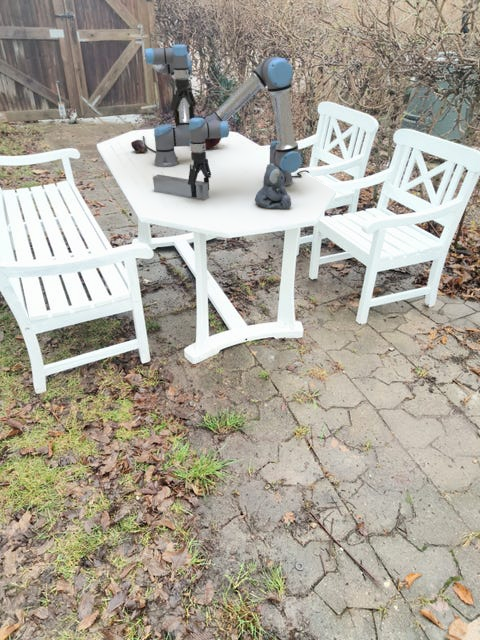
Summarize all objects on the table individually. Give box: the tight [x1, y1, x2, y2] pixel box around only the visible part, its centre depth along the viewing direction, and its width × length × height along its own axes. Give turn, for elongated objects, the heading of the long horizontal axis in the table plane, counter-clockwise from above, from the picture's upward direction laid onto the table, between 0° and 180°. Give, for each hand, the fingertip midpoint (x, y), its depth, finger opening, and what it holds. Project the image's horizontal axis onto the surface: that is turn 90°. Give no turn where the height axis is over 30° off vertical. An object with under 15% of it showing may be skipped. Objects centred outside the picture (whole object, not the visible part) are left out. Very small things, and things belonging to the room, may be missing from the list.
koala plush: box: [254, 162, 292, 210], centre depth 225 cm, size 17×18×20 cm
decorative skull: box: [201, 116, 222, 149], centre depth 324 cm, size 21×24×25 cm
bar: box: [152, 174, 209, 201], centre depth 243 cm, size 32×5×8 cm, turn 62°
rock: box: [130, 139, 149, 153], centre depth 317 cm, size 12×9×10 cm
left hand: (184, 121), depth 251 cm, fingers open, 13 cm apart
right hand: (200, 193), depth 239 cm, fingers open, 12 cm apart
